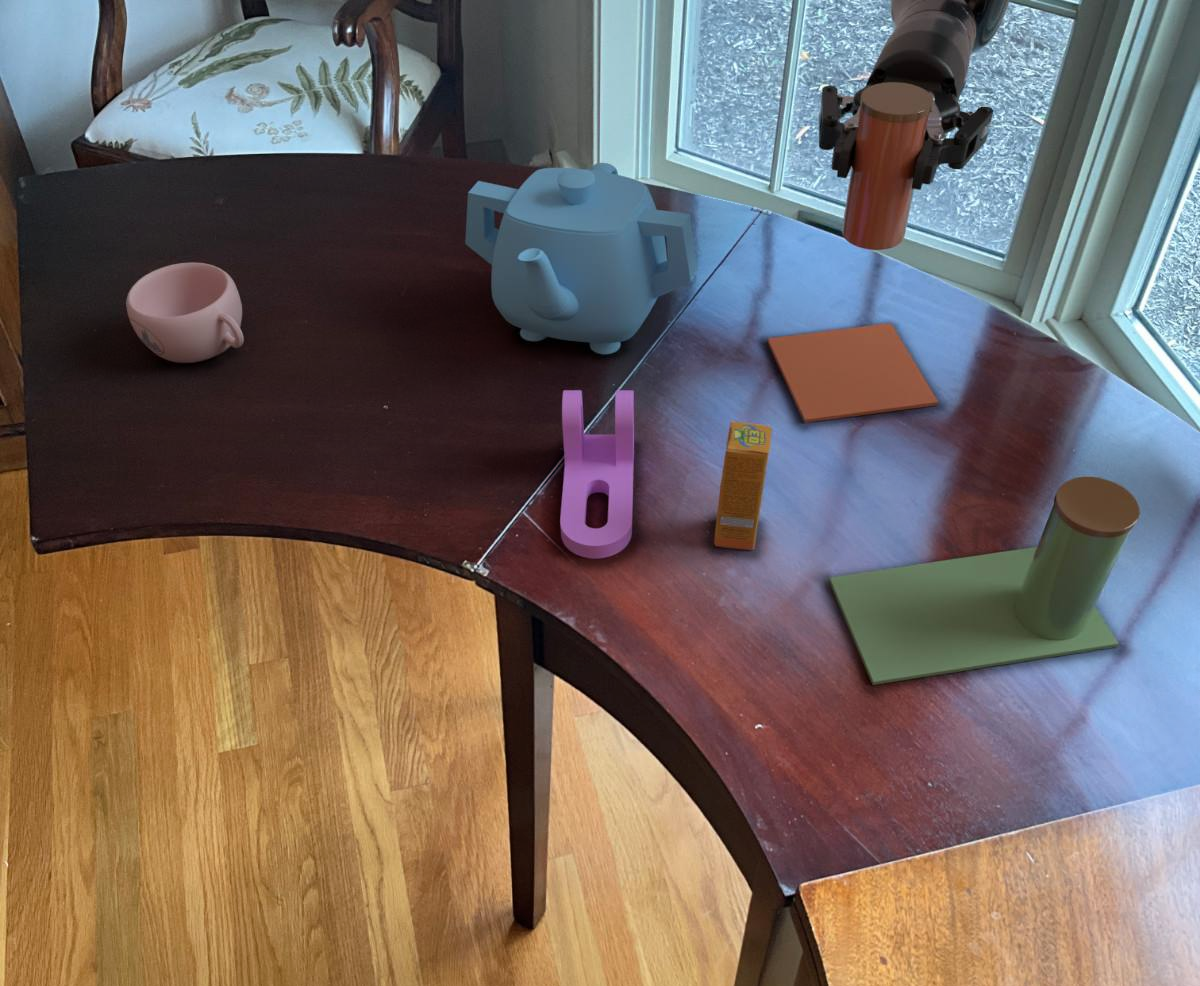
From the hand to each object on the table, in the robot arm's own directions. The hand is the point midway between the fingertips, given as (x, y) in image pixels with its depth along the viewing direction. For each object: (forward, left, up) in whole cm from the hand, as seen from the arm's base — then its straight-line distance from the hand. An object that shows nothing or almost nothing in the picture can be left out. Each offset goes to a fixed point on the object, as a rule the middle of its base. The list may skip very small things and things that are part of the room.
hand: (880, 171), depth 83 cm
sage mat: (-1, +27, -20) cm, 34 cm away
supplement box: (+14, +16, -20) cm, 29 cm away
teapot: (+22, -14, -20) cm, 33 cm away
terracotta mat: (-1, -2, -20) cm, 20 cm away
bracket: (+24, +10, -20) cm, 33 cm away
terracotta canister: (-1, -2, -7) cm, 7 cm away
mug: (+57, -18, -20) cm, 63 cm away
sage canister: (-6, +28, -20) cm, 35 cm away
